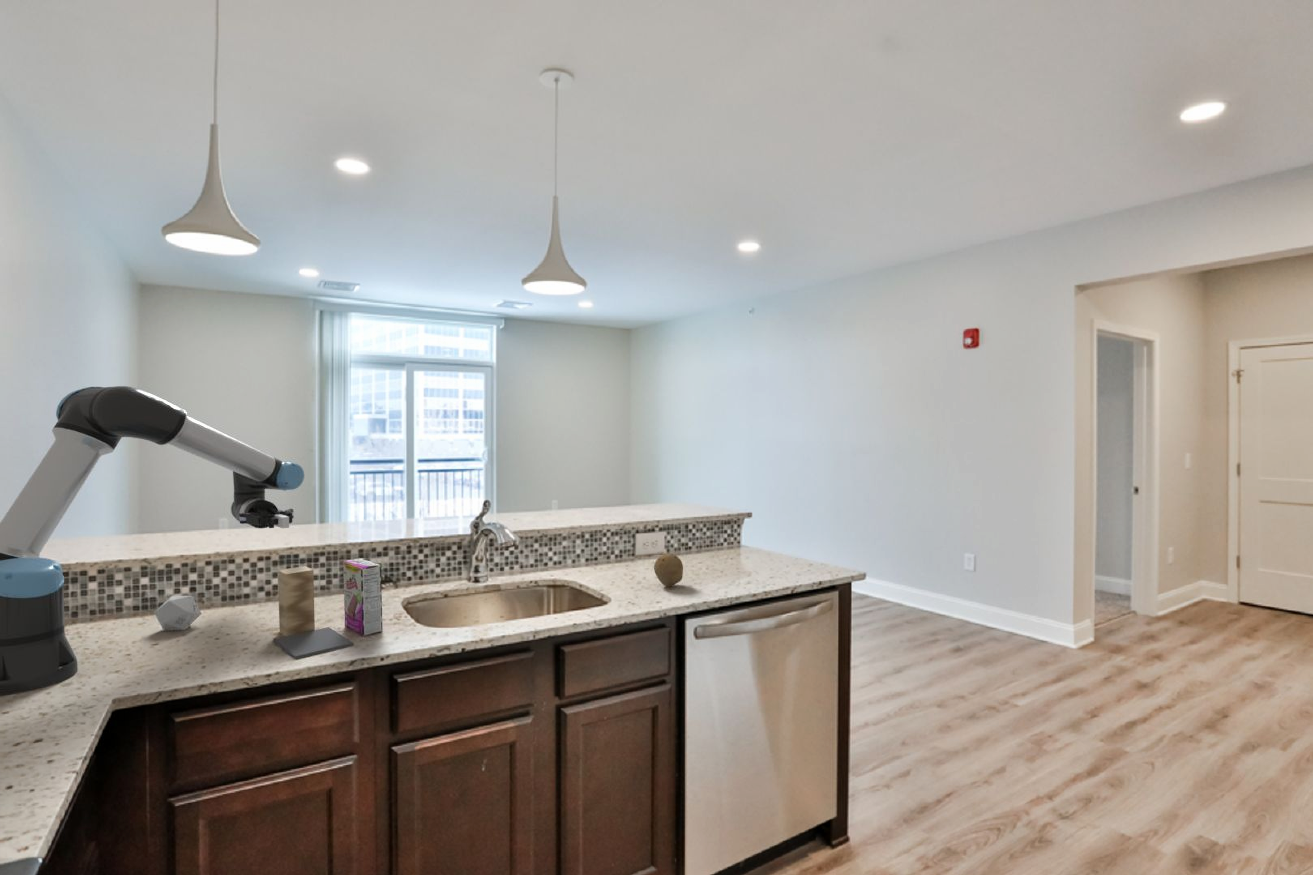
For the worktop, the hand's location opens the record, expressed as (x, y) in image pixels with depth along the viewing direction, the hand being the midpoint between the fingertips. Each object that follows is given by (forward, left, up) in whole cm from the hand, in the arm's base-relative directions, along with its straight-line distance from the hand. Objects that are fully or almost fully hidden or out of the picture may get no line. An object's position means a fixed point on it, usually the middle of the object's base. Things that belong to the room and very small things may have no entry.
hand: (285, 522), depth 162 cm
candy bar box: (+9, -19, -26) cm, 33 cm away
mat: (-3, -19, -26) cm, 32 cm away
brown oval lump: (+84, -58, -26) cm, 105 cm away
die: (-16, +20, -26) cm, 37 cm away
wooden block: (-1, -7, -26) cm, 27 cm away
